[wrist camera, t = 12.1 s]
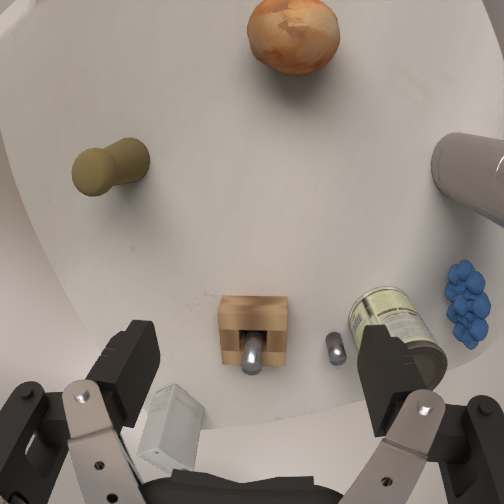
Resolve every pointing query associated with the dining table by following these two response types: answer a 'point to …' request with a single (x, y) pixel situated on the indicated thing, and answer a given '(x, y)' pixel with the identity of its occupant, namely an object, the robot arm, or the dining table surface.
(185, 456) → the skincare box
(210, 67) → the dining table surface
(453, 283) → the grapes
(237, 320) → the collar block
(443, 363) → the coffee can
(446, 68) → the dining table surface
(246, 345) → the long pin
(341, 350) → the short pin
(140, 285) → the dining table surface
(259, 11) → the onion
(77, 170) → the cork
